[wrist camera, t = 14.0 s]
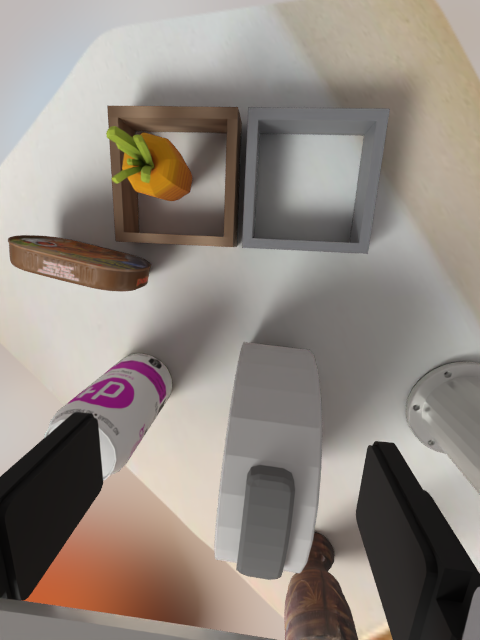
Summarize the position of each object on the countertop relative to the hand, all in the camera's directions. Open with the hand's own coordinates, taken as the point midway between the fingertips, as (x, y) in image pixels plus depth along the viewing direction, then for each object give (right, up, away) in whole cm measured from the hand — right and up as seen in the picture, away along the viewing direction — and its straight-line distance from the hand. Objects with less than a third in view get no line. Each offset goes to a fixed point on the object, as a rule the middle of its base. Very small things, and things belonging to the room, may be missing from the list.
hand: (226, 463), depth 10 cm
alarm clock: (+4, -6, +31) cm, 32 cm away
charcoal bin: (+8, +19, +23) cm, 31 cm away
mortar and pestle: (+12, -29, +36) cm, 48 cm away
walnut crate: (-6, +20, +25) cm, 33 cm away
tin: (-17, +12, +28) cm, 35 cm away
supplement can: (-13, -3, +32) cm, 34 cm away
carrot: (-6, +20, +25) cm, 33 cm away
